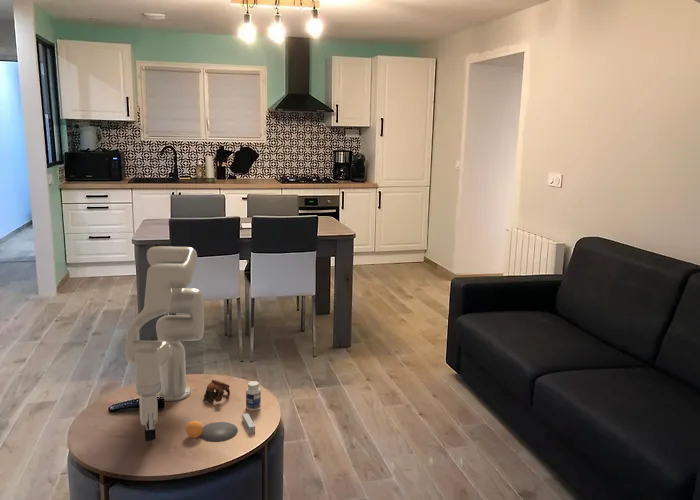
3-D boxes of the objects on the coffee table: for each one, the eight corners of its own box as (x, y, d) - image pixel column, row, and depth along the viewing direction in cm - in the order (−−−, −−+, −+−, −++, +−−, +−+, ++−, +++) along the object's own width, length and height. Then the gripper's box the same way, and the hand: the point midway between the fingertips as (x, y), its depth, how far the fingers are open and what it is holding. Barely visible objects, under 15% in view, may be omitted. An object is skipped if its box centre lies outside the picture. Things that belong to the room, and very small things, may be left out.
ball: (188, 435, 195) (181, 423, 192) (203, 426, 196) (196, 414, 194) (191, 444, 190) (184, 431, 188) (207, 435, 192) (200, 422, 189)
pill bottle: (243, 407, 214) (243, 382, 213) (255, 402, 218) (255, 379, 216) (251, 412, 211) (251, 387, 209) (263, 408, 214) (263, 383, 212)
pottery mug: (198, 398, 222) (206, 377, 224) (221, 404, 226) (228, 384, 228) (207, 403, 211) (215, 381, 213) (230, 410, 215) (238, 388, 217)
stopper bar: (242, 420, 204) (242, 414, 204) (248, 419, 205) (248, 413, 205) (249, 434, 196) (249, 427, 195) (255, 433, 196) (255, 426, 196)
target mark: (196, 425, 200) (196, 425, 200) (234, 420, 204) (234, 419, 204) (201, 444, 188) (201, 443, 188) (241, 438, 193) (240, 437, 193)
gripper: (134, 379, 189) (136, 430, 192) (137, 398, 175) (139, 453, 179) (158, 376, 192) (160, 426, 195) (163, 394, 178) (164, 448, 182)
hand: (150, 439), depth 187 cm, fingers closed
